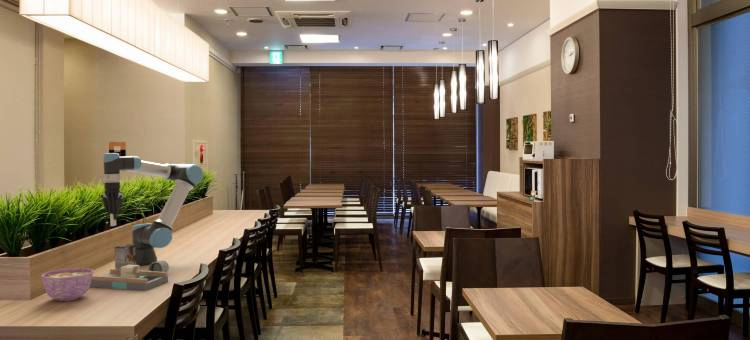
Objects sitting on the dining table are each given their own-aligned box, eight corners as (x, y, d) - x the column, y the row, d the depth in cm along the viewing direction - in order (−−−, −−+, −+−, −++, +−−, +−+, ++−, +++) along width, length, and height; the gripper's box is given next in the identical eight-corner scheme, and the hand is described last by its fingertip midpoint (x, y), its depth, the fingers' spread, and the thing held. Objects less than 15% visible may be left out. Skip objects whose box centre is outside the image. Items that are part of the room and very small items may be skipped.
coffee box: (126, 273, 282) (126, 243, 282) (136, 274, 281) (136, 244, 281) (114, 277, 273) (114, 246, 273) (125, 278, 272) (125, 247, 272)
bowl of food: (60, 292, 244) (60, 267, 243) (102, 293, 243) (102, 268, 243) (30, 304, 224) (30, 277, 223) (77, 305, 223) (76, 278, 223)
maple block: (129, 276, 263) (129, 264, 263) (139, 277, 262) (139, 265, 261) (120, 279, 257) (120, 267, 257) (131, 280, 256) (131, 267, 255)
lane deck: (113, 278, 272) (112, 268, 272) (168, 281, 265) (167, 271, 265) (86, 286, 255) (86, 276, 254) (145, 290, 248) (144, 280, 247)
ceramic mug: (170, 273, 284) (169, 259, 283) (162, 276, 275) (162, 262, 275) (151, 273, 285) (151, 259, 284) (143, 276, 277) (142, 262, 276)
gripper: (96, 182, 279) (97, 226, 280) (118, 182, 276) (119, 227, 277) (106, 181, 286) (107, 224, 287) (127, 181, 284) (128, 224, 285)
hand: (113, 225), depth 282 cm, fingers closed
